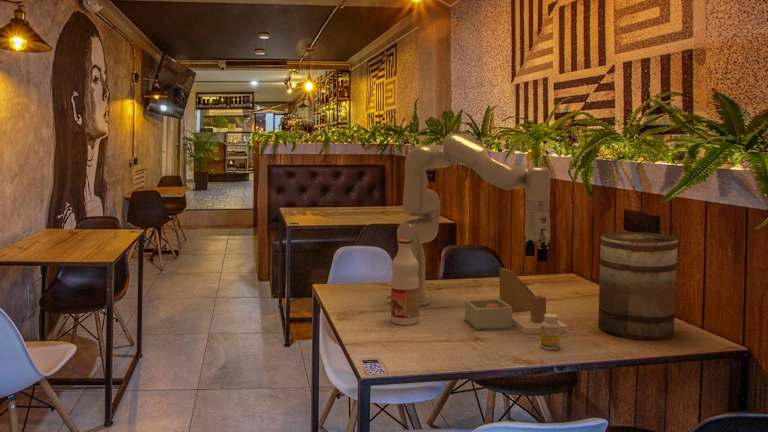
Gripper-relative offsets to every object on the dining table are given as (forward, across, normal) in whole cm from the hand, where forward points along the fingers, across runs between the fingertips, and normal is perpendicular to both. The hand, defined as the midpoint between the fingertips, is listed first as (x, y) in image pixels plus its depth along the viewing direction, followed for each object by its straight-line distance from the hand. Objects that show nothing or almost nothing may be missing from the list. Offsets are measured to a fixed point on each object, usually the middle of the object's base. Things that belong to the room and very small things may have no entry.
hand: (535, 258), depth 206 cm
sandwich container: (+23, +23, -6) cm, 33 cm away
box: (+23, +5, +14) cm, 27 cm away
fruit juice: (+23, +14, +40) cm, 48 cm away
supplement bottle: (+23, -21, +4) cm, 31 cm away
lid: (+22, -1, -1) cm, 23 cm away
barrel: (+22, -10, -30) cm, 39 cm away
